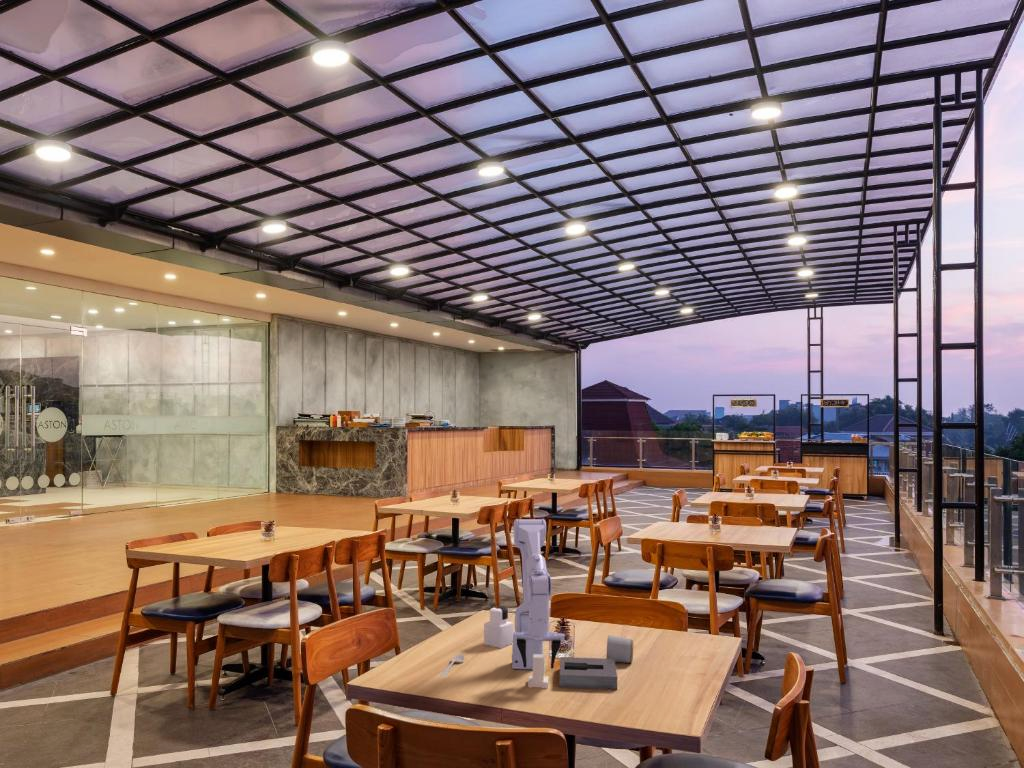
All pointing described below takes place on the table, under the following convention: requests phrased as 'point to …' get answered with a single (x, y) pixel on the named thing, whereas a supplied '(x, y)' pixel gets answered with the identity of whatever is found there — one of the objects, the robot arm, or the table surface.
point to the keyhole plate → (588, 673)
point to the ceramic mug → (620, 649)
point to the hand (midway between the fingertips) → (538, 666)
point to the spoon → (458, 657)
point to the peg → (538, 673)
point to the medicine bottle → (498, 628)
